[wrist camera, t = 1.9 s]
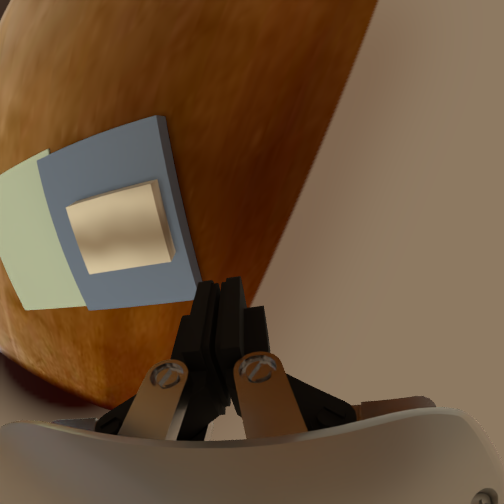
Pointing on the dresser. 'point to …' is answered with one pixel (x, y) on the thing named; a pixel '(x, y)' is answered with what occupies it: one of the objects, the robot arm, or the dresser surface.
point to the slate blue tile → (111, 178)
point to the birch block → (122, 228)
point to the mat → (33, 242)
